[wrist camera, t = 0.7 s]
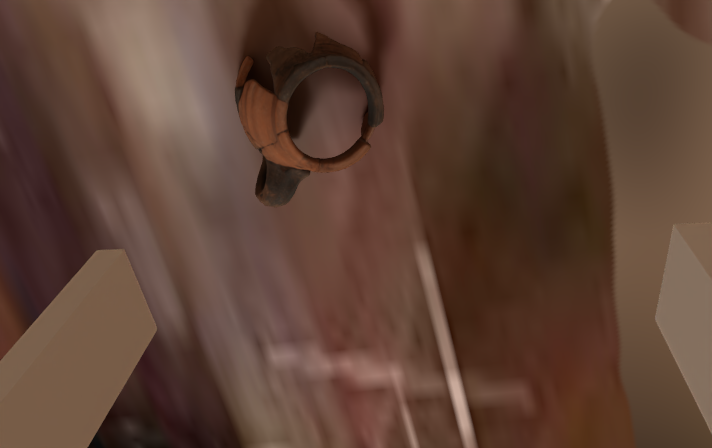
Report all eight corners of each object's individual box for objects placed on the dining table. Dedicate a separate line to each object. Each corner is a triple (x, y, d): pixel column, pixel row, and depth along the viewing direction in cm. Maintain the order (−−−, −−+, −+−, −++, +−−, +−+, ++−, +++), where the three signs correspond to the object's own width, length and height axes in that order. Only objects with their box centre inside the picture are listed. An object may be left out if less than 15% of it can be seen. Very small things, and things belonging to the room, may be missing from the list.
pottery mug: (240, 7, 37) (276, 21, 30) (364, 44, 42) (419, 63, 35) (204, 176, 41) (229, 222, 34) (321, 193, 45) (363, 237, 39)
